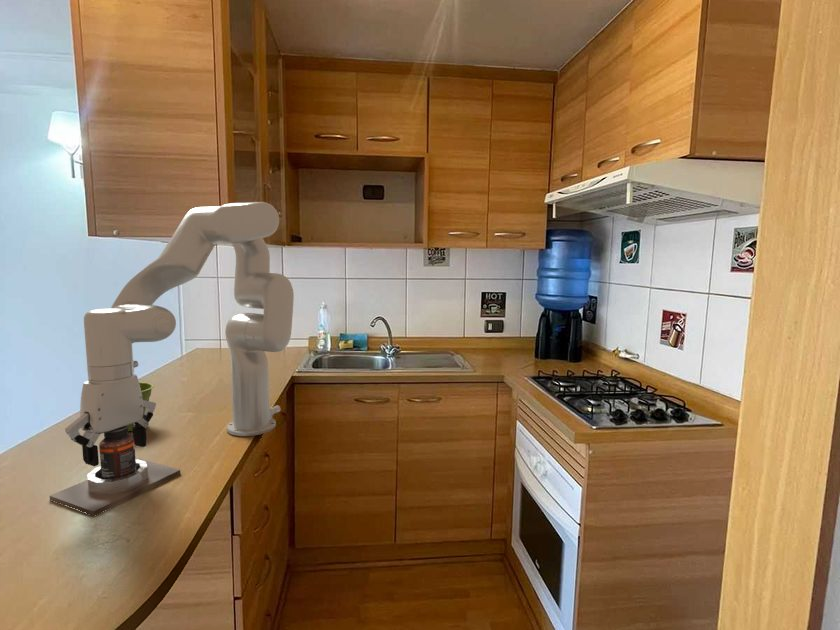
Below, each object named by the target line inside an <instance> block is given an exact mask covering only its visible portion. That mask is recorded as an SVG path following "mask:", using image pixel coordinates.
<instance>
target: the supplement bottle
mask: <svg viewBox="0 0 840 630" xmlns="http://www.w3.org/2000/svg"><path fill="white" fill-rule="evenodd" d="M103 437H104V438H103V439H101V441H100V442H99V445H98V451H99V464H100V466H101V475H102V479H116V478H120V477H124V476H127V475H130V474H132V473H134V472H136V450H135V449H136V447H135V446H136V445H134V438H133V435H131V434H130V433H129V431H128V427H127V426H124V427H121V428H118V429H115V430H112V431H109V432H106V433H103Z"/></svg>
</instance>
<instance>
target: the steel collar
mask: <svg viewBox="0 0 840 630" xmlns="http://www.w3.org/2000/svg"><path fill="white" fill-rule="evenodd" d="M138 459H139V458H137V459H136V472H134V473H132V474H130V475H127V476H124V477H120V478H116V479H102V475H101V465H98V466H96V467H95V468H93V469H92V470H91V471H90V472H88V473H87V475H86V476H87V480H88V488H89V492H91V493H94V494H97V495H106V494H116V493H120V492H124V491H128V490H131V489H133V488H135V487H137V486H139V485H141V484H143V483H144V482H145V481H146V479H147V478H148V467H147V464H146V462H145V461H142V460H138Z"/></svg>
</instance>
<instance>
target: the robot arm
mask: <svg viewBox="0 0 840 630" xmlns="http://www.w3.org/2000/svg"><path fill="white" fill-rule="evenodd" d="M279 224H280V216H279V213H278V211H277V209H276V208H275V207H274V206H273V205H272V204H270V203H269V202H265V201H253V202H252V201H249V202H230V203H225V204H223V205H218V206H215V205H214V206H212V205H211V206H198V207H194V208H191V209H190V210H189V211H188V212H187V213H186V214H185V215H184V216H183V219H182V220H181V221H180V223H179V225H178V227H177V228H176V229H175V231H174V233H173V234H172V236H171V238H170V239H169V241H168V242H167V244H166V245H165V247H164V249H163V250H162V251H161V253H160V254H159V256H158V257H157V258H156V259H155V260H153V261H152V262H151V263H149V264H148V265H146V267H144V268H143V269H141V271H139V272H138V273H137V274H136V275H134V276H133V277H132V278H131V279H130V280H129V281H128V282H127V283H126V284H125V285H124V286H123V288H122V289H121V290H120V292H119V294H118V295H117V296H116V299H115V300H114V302H113V303H112V305H111V307H110V308H107V307H106V308H98V309H92V310H88V311H87V312H86V313H85V314H84V316H83V328H84V329H83V330H84V341H85V353H86V354H85V356H86V366H87V367H86V368H87V380H86V381H83V384H82V390H81V394H80V406H79V407H80V409H79V417H78V418H77V419H76V420H74V421H73V422H72V423H71V424H69V425H68V426H67V427H66V428H65V429H64V432H65V434H66V435H68V437H69V438H70V439H71V441H73V442H75V443H77V444H78V445H80V446H81V447H82V449H81V450H82V460H83V462H84V464H86V465H87V466H88V465H89V466H92V467H98V466H99V464H100V457H99V445H96V442H97V440H98V439H99V437H100V436H101V434H102V435H103V434H104V433H106V432H109V431H112V430H115V429H118V428H121V427H124V426H127V425H130V424H134V425H135V426H133V428H132V431H131V432H132V436H133V438H134V445H135V446H137V447H141V448H145V447H147V428H148V427H149V425H150V424H149V422H150V421H151V419H152V418H153V416H154V412H155V409H156V407H157V403H156V402H154V401H150V400H149V401H145V400H143V399H142V393H141V388H140V384H139V382H140V381H139V379H138V375H137V374H135V368H137V367H139V362H138V361H137V360H134V358H133V357H134V356H133V355H134V354H133V344H135V343H154V342H155V343H156V342H160V341H164V340H165V339H166V340H167V339H168V338H169V337H170V336H171V335H172V334H173V333H174V331H175V330H176V327H177V320H176V317H175V315H174V314H173V313H172V312H171V310H169V309H167V308H165V307H163V306H159V305H155V304H154V303H155V302H156V301H157V300H158V299H159V298H160V297H161V296H163V295H164V294H165V293H166V292H168V291H170V290H173V289H174V288H176V287H179V286H182V285H185V284H187V283H188V282H190V281H193V280H194V279H196V278H197V277H198V276H199V274H200V272H201V270H202V269H203V267H204V266H205V263H206V262H207V261H208V258H209V256H210V254H211V253H212V251H213V249H214V248H215V246H216V245H217V244H218V245H219V244H224V245H226V244H227V245H229V244H231V245H232V247H233V249H234V252H235V253H234V254H235V268H234V269H235V271H234V272H235V273H234V283H233V285H234V288H233V295H234V300H235V301H236V304H238V305H239V306H242V307H243V308H244V307H245V308H250V309H257V310H258V309H259V310H263V314H262V313H256V312H255V313H254V312H241V313H238V314H235V315H233V316H232V317H230V318H229V320H228V321H227V322H226V326H225V339H226V343H227V347H228V351H229V358H230V376H231V378H230V379H231V380H230V381H231V406H232V421H231V422H229V423H227V425H226V432H227V433H228V434H230V435H231V436H237V437H253V436H254V437H255V436H258V435H259V436H261V435H263V434H266V433H268V432H272V431H273V429H275V428H276V426H277V422H276V421H277V420H275V418H273V416H274V414H277V413H279V412H280V411H281V406H280V405H274V406H273V407H271V406H270V404H271V403H270V373H269V372H270V370H269V369H270V368H269V359H268V356H267V354H266V352H267V353H278V352H281V351H283V350H285V348H286V347H287V346H288V345H289V343H290V341H291V338H292V337H291V336H292V327H293V317H294V316H293V315H294V314H293V313H294V300H295V299H294V296H295V295H294V288H293V285H292V283H291V281H290V279H289V278H288V277H287V276H285V275H284V274H281V273H277V272H271V271H270V269H271V268H270V267H271V265H270V263H271V262H270V261H271V259H270V256H271V255H270V249H269V248H268V245H267V243H266V242H265V240H264V238H267V237H271V236H273V234H274V233H276V232H277V230H278V228H279ZM143 406H145V412H144V413H143ZM80 429H81V430H82V431H84V432H83V434H81V433H80V432H79V431H80Z"/></svg>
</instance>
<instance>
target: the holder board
mask: <svg viewBox="0 0 840 630" xmlns="http://www.w3.org/2000/svg"><path fill="white" fill-rule="evenodd" d="M137 459H138V460H142V461H145V462H146V464H147V467H148V478H147V479H146V481H145V482H144V483H143V484H141V485H139V486H137V487H135V488H133V489H131V490H128V491H124V492H120V493H116V494H106V495H97V494H94V493H91V492H89V488H88V479H86V480H83V481H81V482H79V483H77V484H74V485H71V486H70V487H67V488H65V489H62V490H60V491H57V492H54V493H52V494H50V495H49V501H50V500H52V501H51V502H53V501H55V502H57V503H56V504H58V503H61V504H63V505H67V506H69V507H72V508H75V509H78V510H80V511H82V512H86V513H87V514H86V515H88V514H90V515H89V516H91V515H92V516H91V517H93V516H94V517H96V516H98V515H100V514H102V513H104V512H106V511H108V510H111V509H112V507H113V508H114V506H115V507H117V506H118V505H120V504H123V503H124V502H127V501H128V500H131V499H133V498H134V497H137V496H139V495H141V494H143V493H145V492H148V491H149V490H151V489H153V488H155V487H157V486H159V485H162V484H164V483H166V482H167V480H168V481H169V480H172V479H174V478H176V477H178V476H180V475H181V469H179V468H175V467H172V466H169V465H165V464H161V463H157V462H153V461H150V460H146V459H143V458H137ZM173 477H174V478H173ZM171 478H172V479H171ZM126 500H127V501H126ZM55 502H54V503H55ZM61 504H60V505H61ZM63 505H62V506H63ZM116 505H117V506H116ZM69 507H68V508H69ZM72 508H71V509H72ZM110 508H111V509H110ZM105 510H106V511H105ZM80 511H79V512H80ZM103 511H104V512H103ZM82 512H81V513H82ZM101 512H102V513H101ZM99 513H100V514H99ZM97 514H98V515H97ZM95 515H96V516H95Z"/></svg>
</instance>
